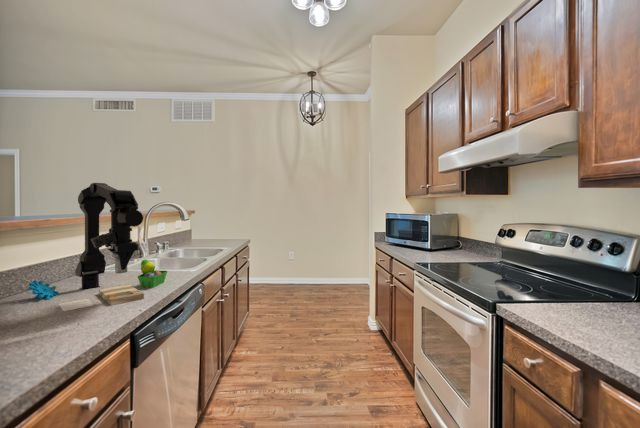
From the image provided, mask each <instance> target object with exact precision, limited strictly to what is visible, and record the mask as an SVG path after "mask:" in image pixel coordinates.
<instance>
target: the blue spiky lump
mask: <svg viewBox="0 0 640 428" xmlns="http://www.w3.org/2000/svg"><path fill="white" fill-rule="evenodd" d="M28 286H29V287H28V289H29V291H30V290H31V291H32V294H33V295H35V296H34V297H33V299H43V298H44V297H45V298H44V300H45V301H49V300H51V298H52V299H53V298H55V297H57V296H58V294H59V291H57V290H56V288H57V286H56V285H53V286H51V284H50V283H48V282H46V283H45V284H44V281H43V280H39V281H38V280H36V279H33V281H31V282H30V283H28ZM50 286H51V287H50Z"/></svg>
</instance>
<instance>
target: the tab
mask: <svg viewBox="0 0 640 428" xmlns="http://www.w3.org/2000/svg"><path fill="white" fill-rule="evenodd" d="M58 305H59V308H60V309H61V310H62V312H67V311H73V310H76V309H82V308H86V307H87V308H88V307H93V306H94V303H92V301H91V299H88V298H84V299H78V300H74V301H68V302H62V303H58Z"/></svg>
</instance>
